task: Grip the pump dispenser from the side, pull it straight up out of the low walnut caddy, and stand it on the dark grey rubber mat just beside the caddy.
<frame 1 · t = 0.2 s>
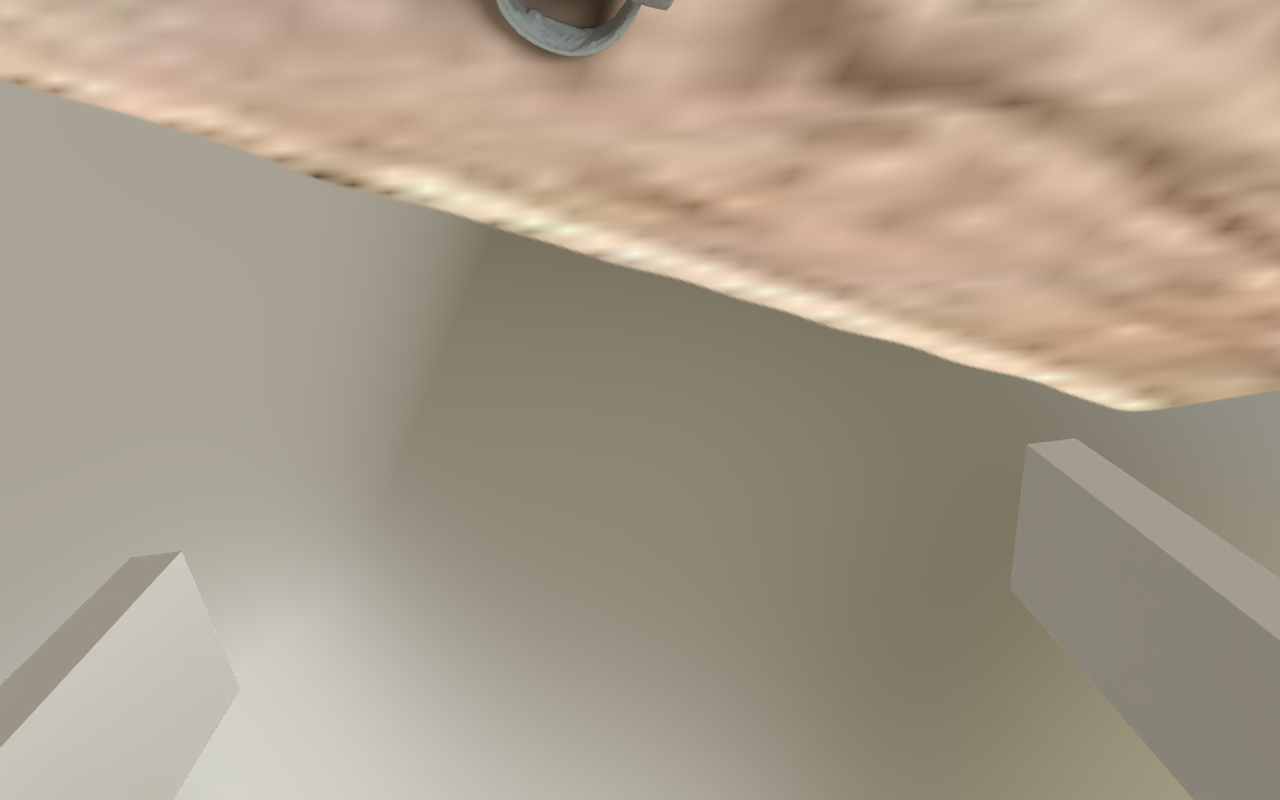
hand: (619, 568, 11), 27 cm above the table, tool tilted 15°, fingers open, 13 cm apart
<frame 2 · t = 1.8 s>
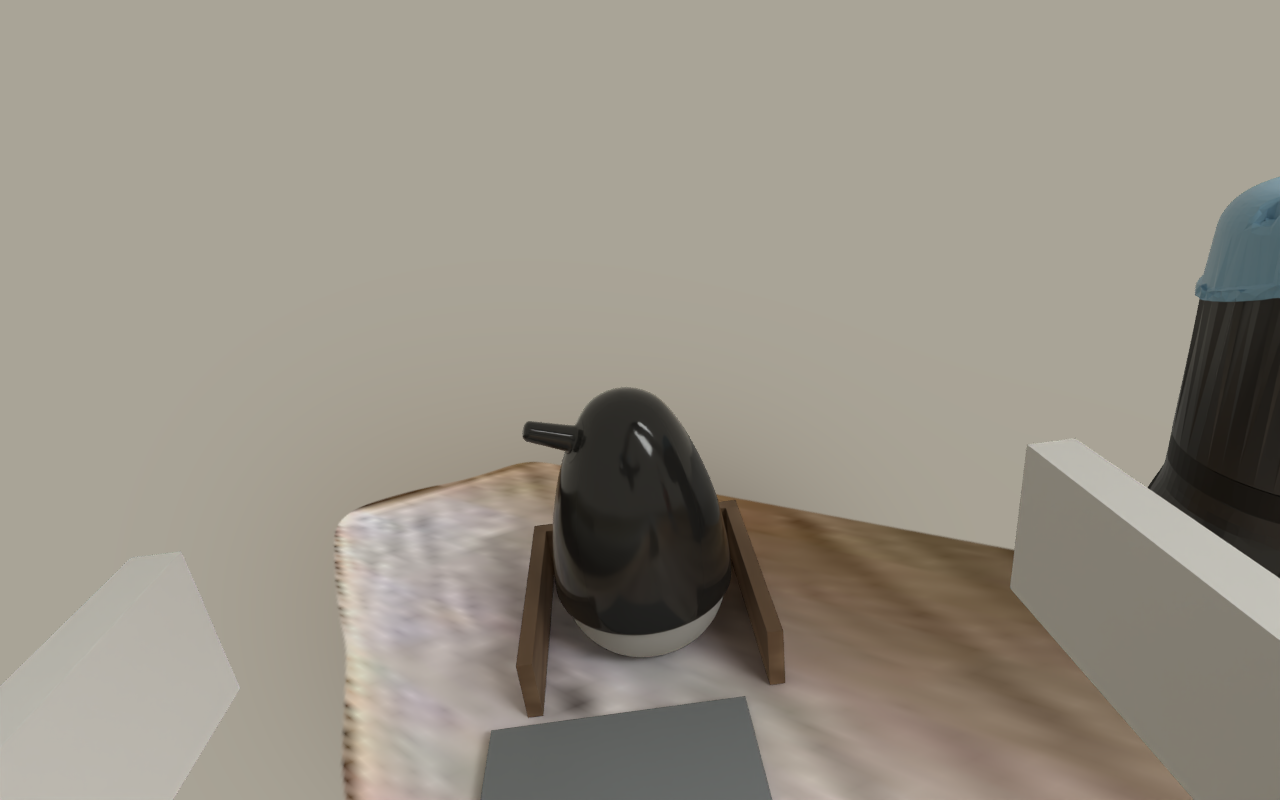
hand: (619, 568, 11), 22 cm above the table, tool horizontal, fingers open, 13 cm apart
walnut caddy: (648, 622, 43), on the table
pump dispenser: (648, 625, 43), on the table
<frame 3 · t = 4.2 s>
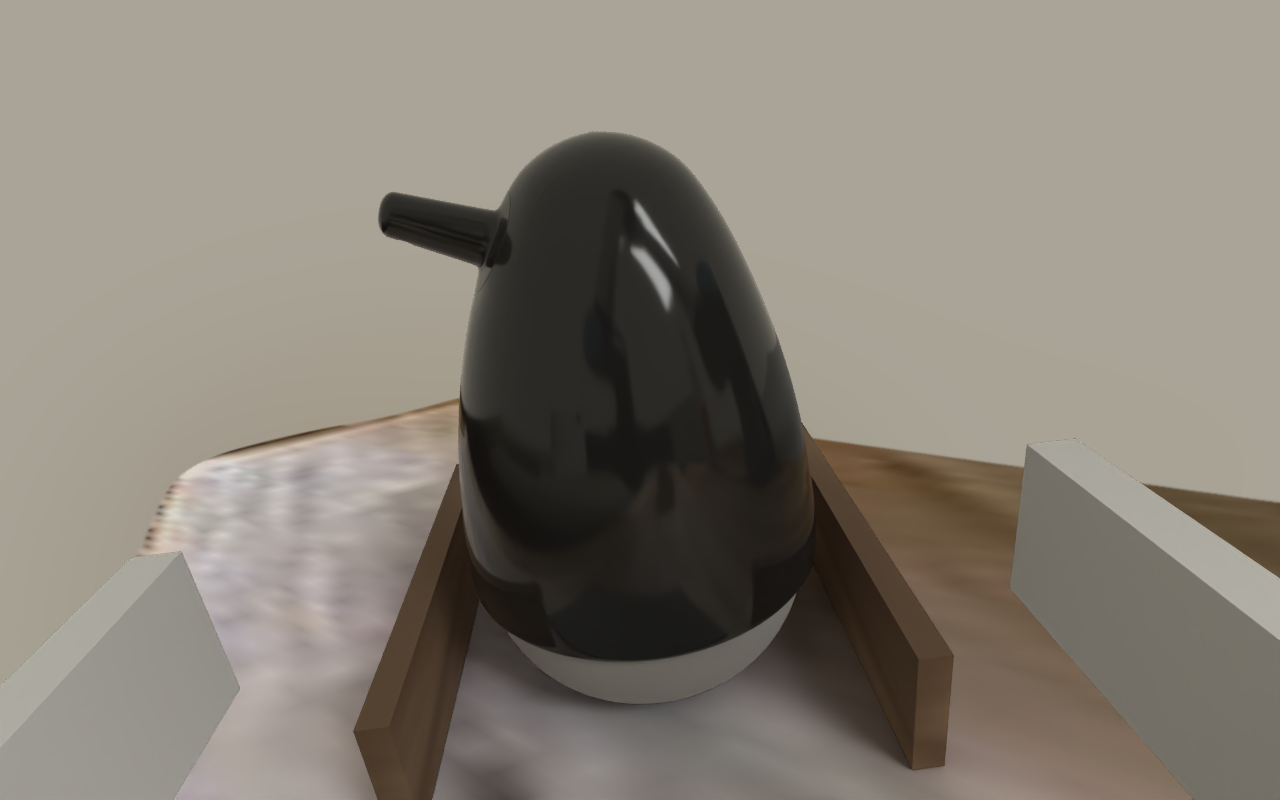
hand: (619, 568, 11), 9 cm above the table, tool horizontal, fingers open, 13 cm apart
walnut caddy: (651, 632, 23), on the table
pump dispenser: (651, 638, 23), on the table
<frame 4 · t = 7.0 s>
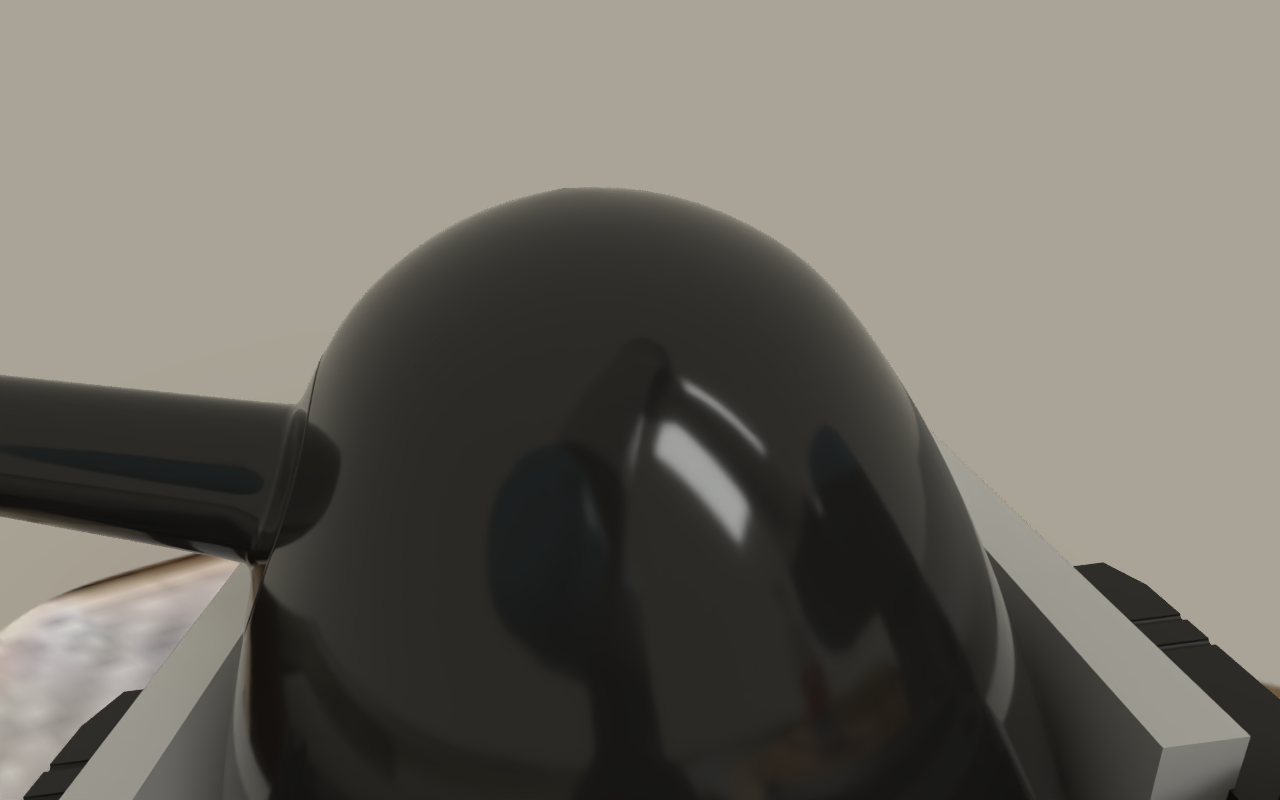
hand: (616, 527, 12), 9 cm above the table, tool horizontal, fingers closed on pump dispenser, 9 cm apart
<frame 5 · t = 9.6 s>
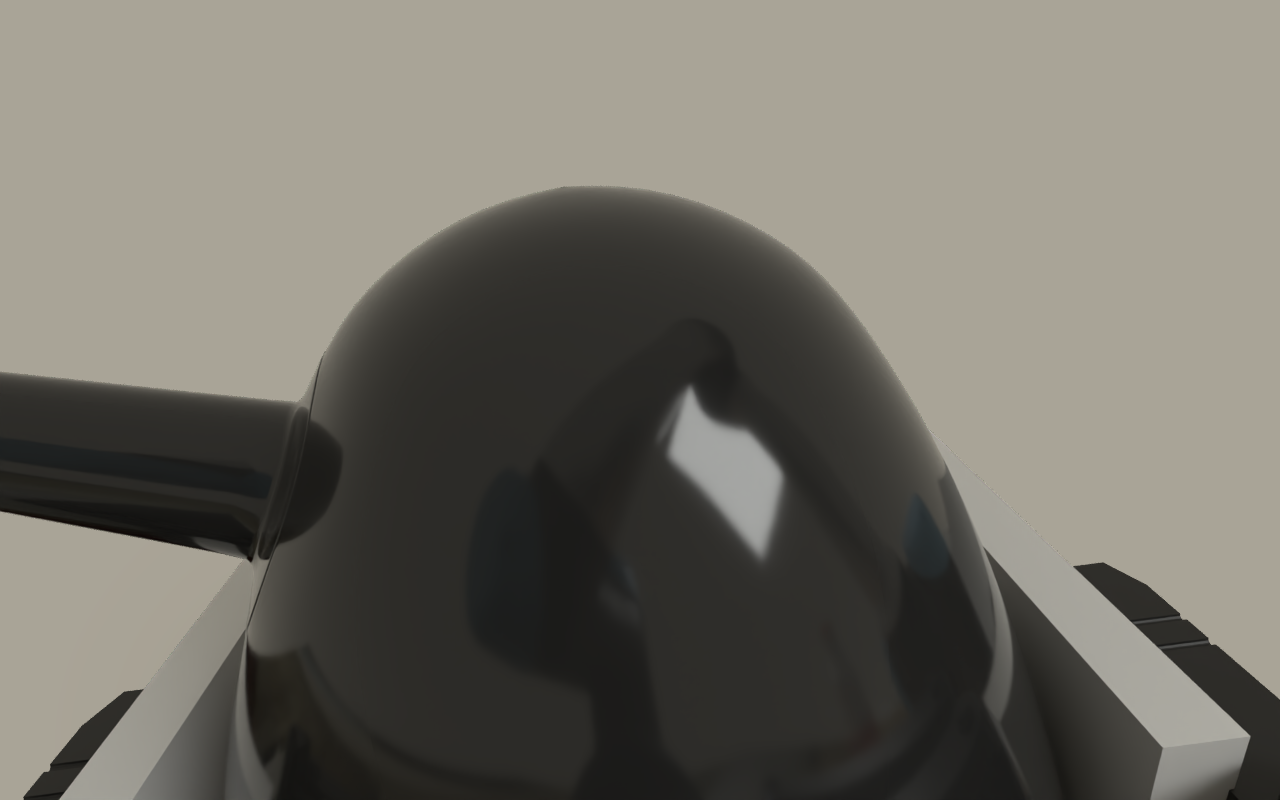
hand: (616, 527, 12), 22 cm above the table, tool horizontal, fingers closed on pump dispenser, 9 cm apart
when the fingers open (11 cm above the table, at t = 12.3 s): pump dispenser drops 1 cm, resting on grey mat.
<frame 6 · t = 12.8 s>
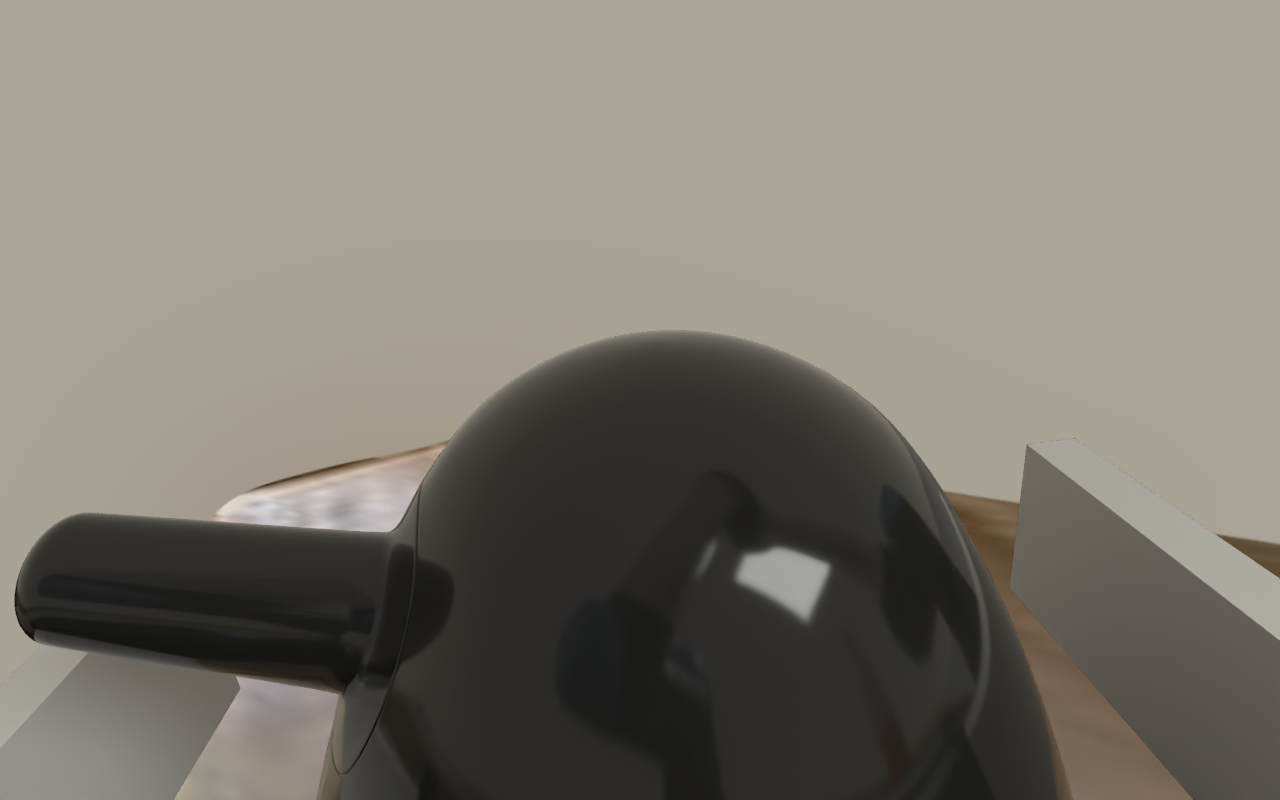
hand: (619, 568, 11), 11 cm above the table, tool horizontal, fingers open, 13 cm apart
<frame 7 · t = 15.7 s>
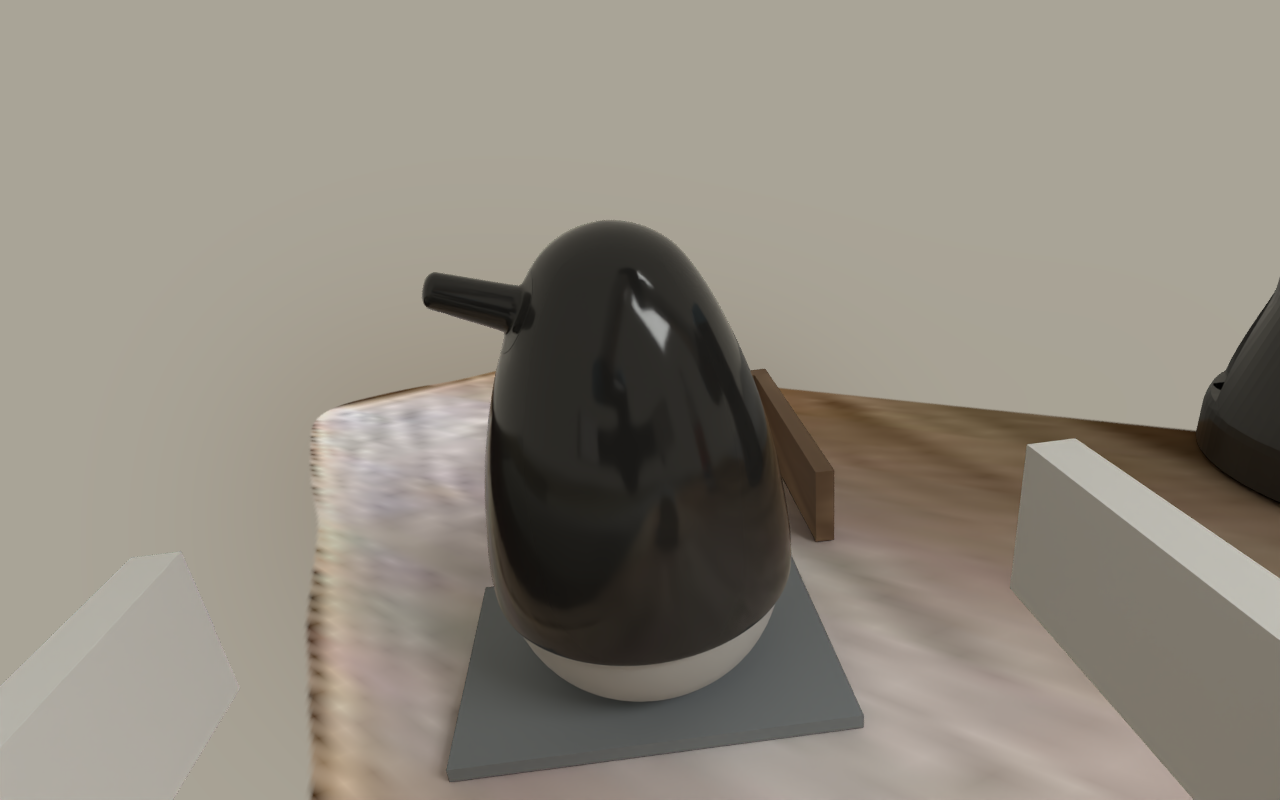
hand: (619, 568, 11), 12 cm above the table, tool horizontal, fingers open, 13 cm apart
walnut caddy: (668, 491, 37), on the table
pump dispenser: (649, 644, 26), resting on grey mat
grey mat: (647, 652, 26), on the table
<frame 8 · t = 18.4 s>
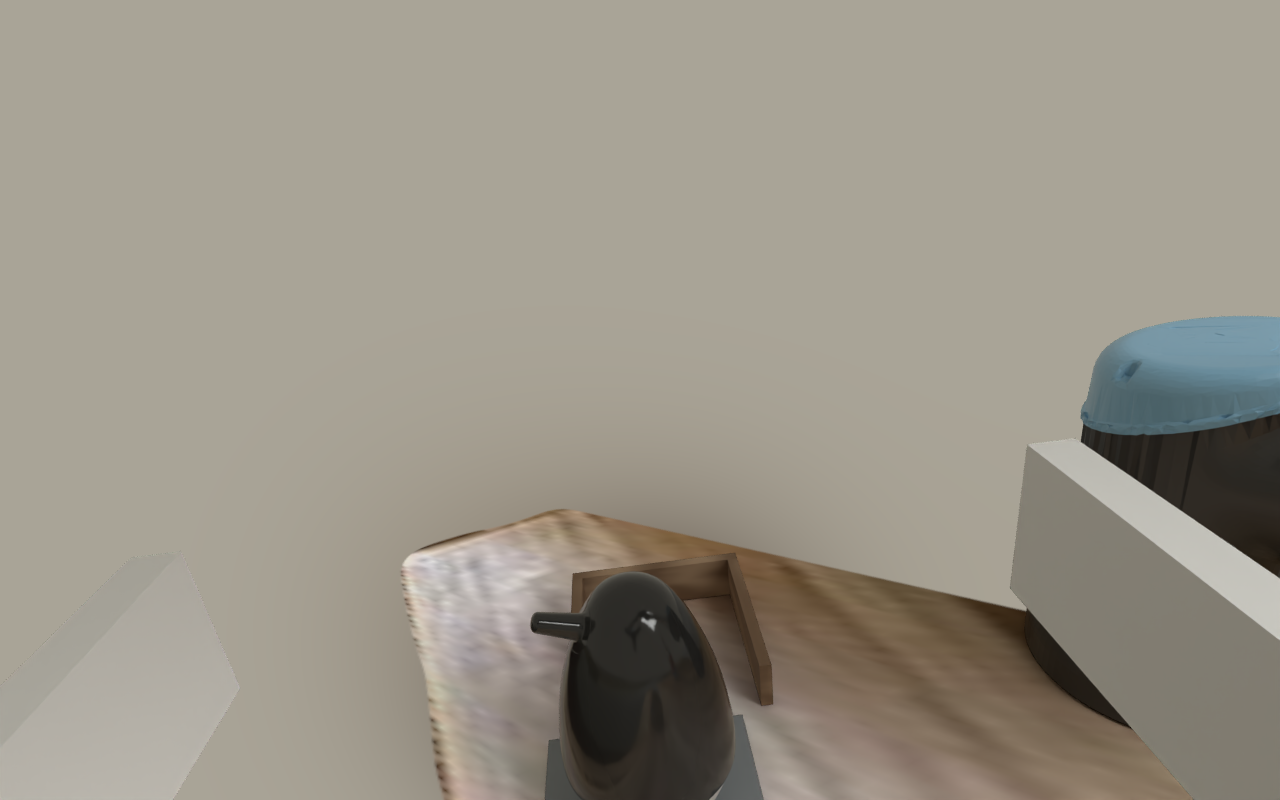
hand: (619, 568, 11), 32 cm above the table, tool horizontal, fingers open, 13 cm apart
walnut caddy: (666, 654, 54), on the table
pump dispenser: (653, 788, 43), resting on grey mat
grey mat: (651, 793, 43), on the table
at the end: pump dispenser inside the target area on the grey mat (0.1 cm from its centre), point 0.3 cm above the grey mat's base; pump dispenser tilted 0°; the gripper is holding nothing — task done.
